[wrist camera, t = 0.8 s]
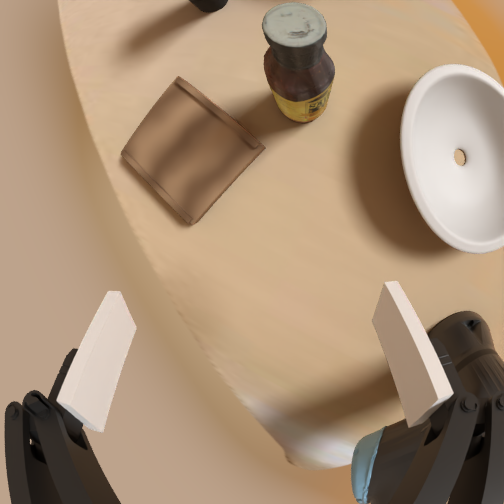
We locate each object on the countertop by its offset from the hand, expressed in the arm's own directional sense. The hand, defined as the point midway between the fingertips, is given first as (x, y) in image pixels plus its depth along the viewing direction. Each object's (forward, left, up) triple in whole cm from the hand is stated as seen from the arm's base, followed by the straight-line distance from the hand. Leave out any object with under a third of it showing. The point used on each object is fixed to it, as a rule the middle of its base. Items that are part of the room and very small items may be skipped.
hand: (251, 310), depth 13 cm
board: (+17, +3, -24) cm, 30 cm away
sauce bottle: (+10, -12, -24) cm, 29 cm away
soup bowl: (-10, -24, -24) cm, 36 cm away
